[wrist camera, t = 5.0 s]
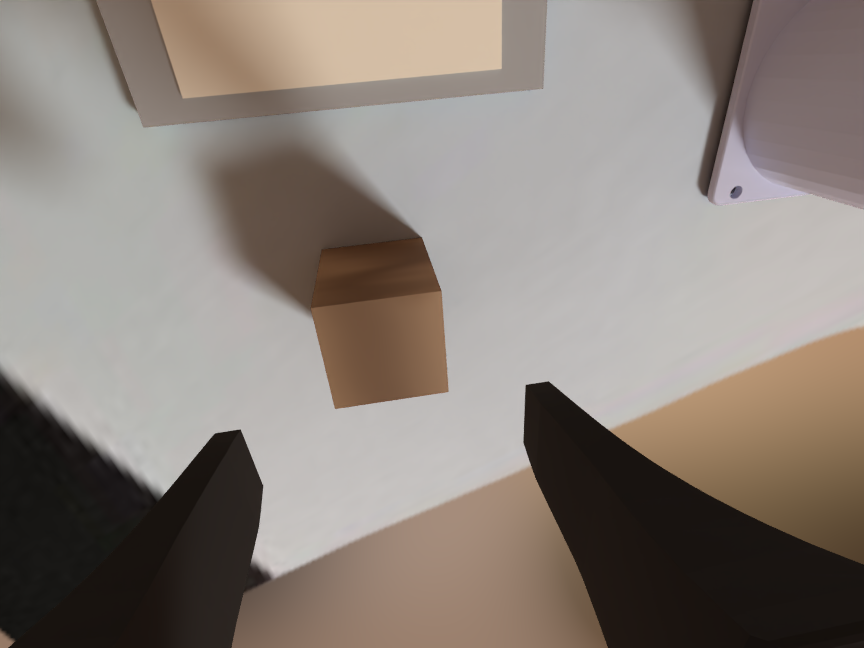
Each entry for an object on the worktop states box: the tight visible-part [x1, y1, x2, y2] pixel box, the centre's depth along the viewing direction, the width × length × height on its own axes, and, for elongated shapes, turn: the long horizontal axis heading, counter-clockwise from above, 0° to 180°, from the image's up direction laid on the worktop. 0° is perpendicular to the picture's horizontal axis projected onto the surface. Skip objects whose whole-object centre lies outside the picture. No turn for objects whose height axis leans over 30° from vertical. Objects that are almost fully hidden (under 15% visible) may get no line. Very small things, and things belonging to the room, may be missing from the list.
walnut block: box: [311, 237, 449, 409], centre depth 17 cm, size 4×4×5 cm
